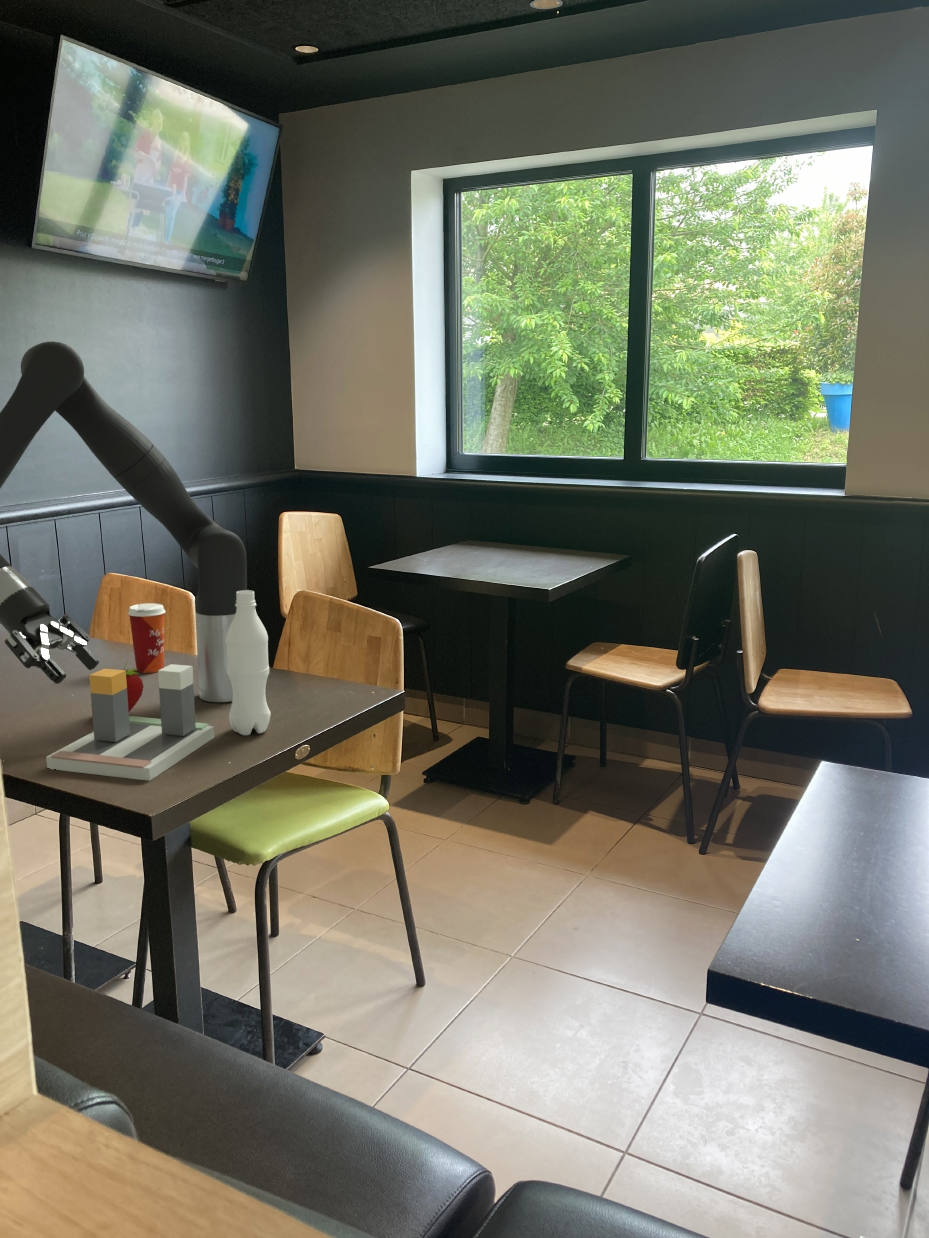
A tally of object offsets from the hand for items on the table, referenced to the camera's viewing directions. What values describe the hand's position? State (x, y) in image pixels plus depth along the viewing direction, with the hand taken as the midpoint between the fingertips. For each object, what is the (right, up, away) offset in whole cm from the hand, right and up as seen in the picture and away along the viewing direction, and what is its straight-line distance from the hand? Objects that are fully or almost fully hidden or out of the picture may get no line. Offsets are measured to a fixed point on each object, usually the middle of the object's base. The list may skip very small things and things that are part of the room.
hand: (79, 673), depth 153 cm
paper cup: (-5, -2, +49) cm, 49 cm away
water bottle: (+26, -11, +12) cm, 30 cm away
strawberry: (+1, -9, +20) cm, 22 cm away
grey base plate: (+9, -13, +1) cm, 16 cm away
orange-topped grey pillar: (+5, -11, +1) cm, 12 cm away
